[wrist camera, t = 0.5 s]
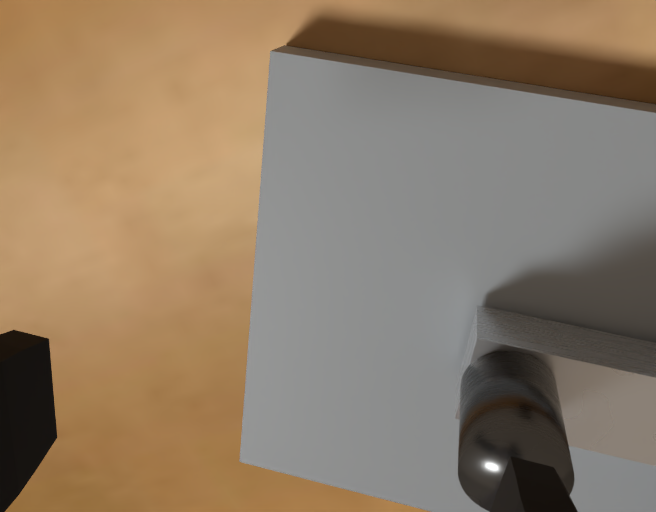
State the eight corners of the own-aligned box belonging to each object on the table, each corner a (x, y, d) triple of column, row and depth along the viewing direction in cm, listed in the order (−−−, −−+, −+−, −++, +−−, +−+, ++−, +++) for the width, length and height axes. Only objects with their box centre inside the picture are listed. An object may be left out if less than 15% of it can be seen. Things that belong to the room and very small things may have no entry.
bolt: (729, 442, 16) (814, 599, 12) (452, 379, 17) (446, 504, 13) (771, 367, 15) (881, 512, 11) (473, 304, 16) (472, 416, 12)
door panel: (676, 544, 19) (711, 644, 16) (251, 437, 21) (217, 509, 18) (898, 142, 13) (1012, 189, 11) (284, 45, 15) (241, 62, 12)
